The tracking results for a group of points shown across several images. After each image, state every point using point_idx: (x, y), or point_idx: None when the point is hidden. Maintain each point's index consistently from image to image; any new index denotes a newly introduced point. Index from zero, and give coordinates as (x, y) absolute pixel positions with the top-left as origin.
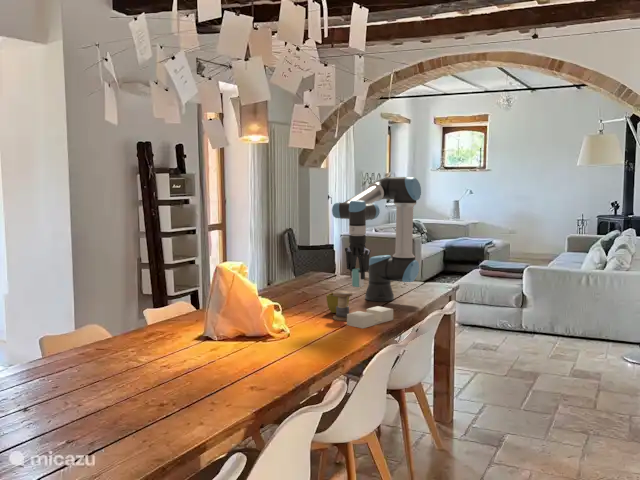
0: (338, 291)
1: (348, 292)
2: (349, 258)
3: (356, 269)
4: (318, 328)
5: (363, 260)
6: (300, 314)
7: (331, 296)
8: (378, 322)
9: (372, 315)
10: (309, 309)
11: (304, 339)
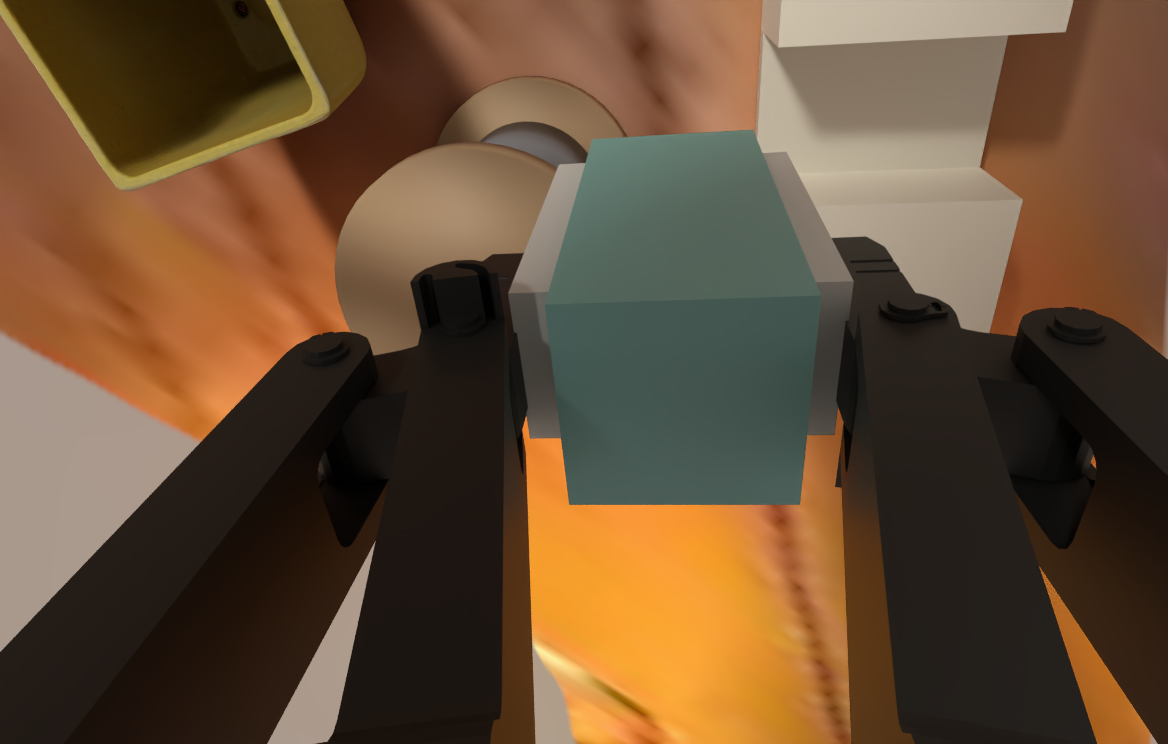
0: (349, 259)
1: (507, 213)
2: (230, 709)
3: (706, 482)
4: (642, 529)
5: (1030, 617)
6: (173, 332)
7: (195, 165)
8: (994, 92)
9: (1008, 235)
10: (4, 130)
11: (763, 711)
